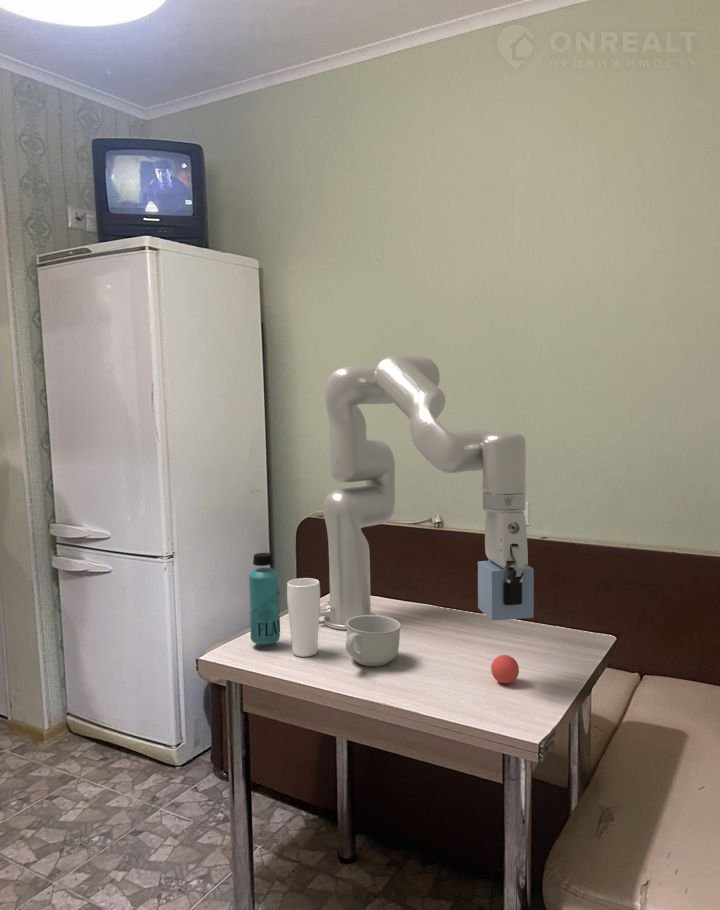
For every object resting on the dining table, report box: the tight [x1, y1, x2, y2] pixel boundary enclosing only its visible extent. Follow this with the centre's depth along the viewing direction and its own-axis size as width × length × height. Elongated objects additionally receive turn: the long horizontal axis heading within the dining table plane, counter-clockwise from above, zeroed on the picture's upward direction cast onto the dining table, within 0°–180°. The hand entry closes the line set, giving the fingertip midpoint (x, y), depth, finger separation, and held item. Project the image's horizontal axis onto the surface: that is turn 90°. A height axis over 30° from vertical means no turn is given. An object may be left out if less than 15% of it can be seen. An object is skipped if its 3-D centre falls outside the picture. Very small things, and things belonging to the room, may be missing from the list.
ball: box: [490, 654, 520, 685], centre depth 128 cm, size 5×5×5 cm
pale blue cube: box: [477, 560, 535, 621], centre depth 127 cm, size 8×8×9 cm
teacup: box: [345, 614, 402, 667], centre depth 138 cm, size 14×11×8 cm
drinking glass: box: [286, 577, 321, 658], centre depth 144 cm, size 7×7×15 cm
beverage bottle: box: [248, 552, 281, 645], centre depth 149 cm, size 6×7×20 cm
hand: (504, 597), depth 127 cm, fingers closed on pale blue cube, 7 cm apart
